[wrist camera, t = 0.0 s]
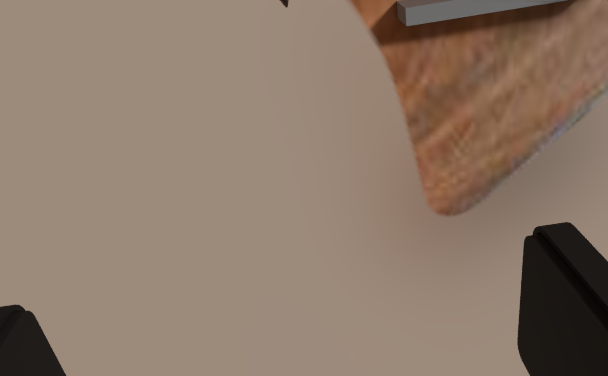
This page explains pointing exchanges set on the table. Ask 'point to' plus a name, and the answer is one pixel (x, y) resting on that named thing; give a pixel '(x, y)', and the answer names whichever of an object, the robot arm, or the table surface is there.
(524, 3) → the box
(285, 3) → the shard
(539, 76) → the table surface
